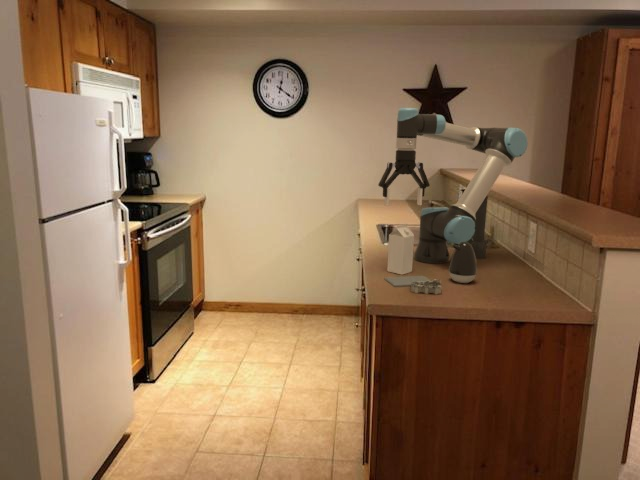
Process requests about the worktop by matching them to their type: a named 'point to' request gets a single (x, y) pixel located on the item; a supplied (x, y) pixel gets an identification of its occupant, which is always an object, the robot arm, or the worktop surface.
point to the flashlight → (480, 231)
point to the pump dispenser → (463, 263)
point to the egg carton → (426, 286)
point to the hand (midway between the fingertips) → (403, 205)
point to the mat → (405, 280)
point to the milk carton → (400, 250)
